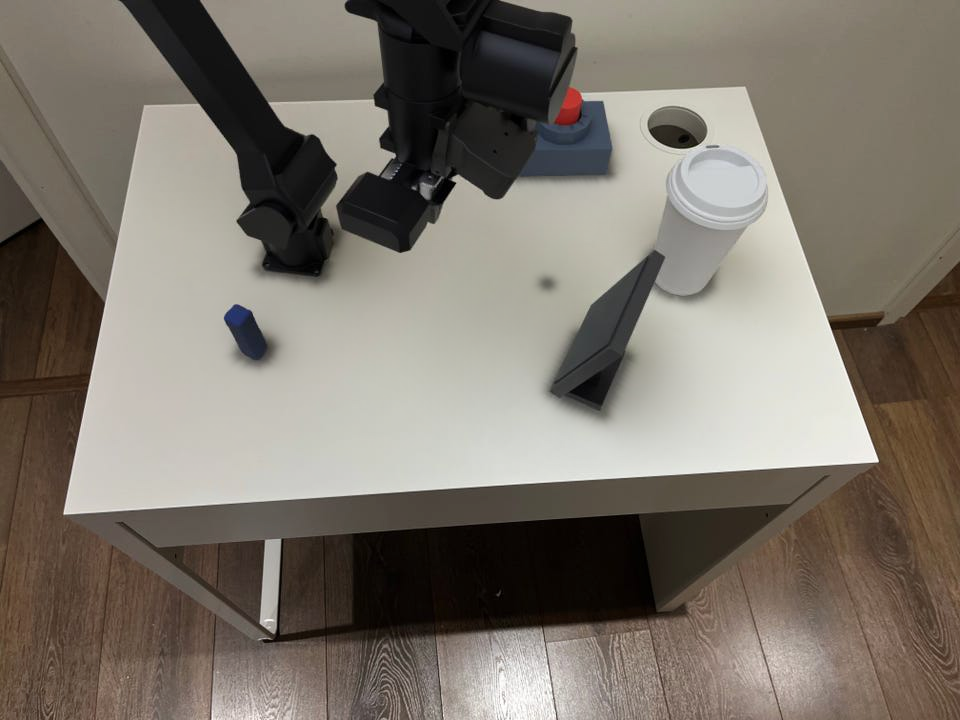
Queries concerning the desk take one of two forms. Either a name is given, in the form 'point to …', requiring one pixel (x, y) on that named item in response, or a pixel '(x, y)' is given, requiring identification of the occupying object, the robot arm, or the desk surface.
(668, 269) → the coffee cup
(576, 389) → the monitor stand
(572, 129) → the switch box
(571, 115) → the power button
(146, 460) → the desk surface
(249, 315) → the eraser
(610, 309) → the screen
